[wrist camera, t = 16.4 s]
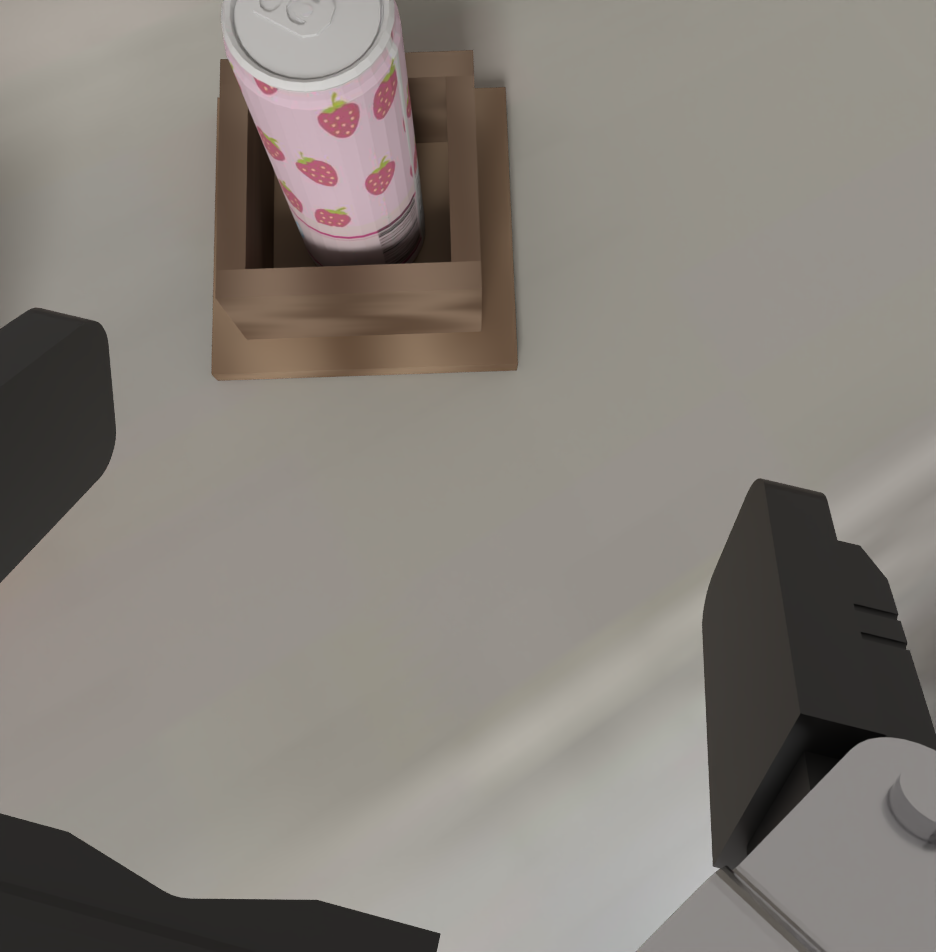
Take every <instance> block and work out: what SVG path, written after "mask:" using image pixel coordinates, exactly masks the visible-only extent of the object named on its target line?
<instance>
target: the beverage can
mask: <svg viewBox="0 0 936 952" xmlns="http://www.w3.org/2000/svg"><path fill="white" fill-rule="evenodd" d="M221 25H222V30H223V36H224V37H223V39H224V45H225V50H226V55H227V58H228V60H229V62H230V65H231V67H232V70H233V72H234V74H235V77H236V79H237V82H238V84H239V87H240V89H241V91H242V94H243V96H244V99H245V101H246V103H247V106H248V108H249V111H250V113H251V116H252V118H253V120H254V123H255V125H256V128H257V130H258V132H259V135H260V137H261V140H262V142H263V145H264V147H265V149H266V152H267V154H268V157H269V159H270V161H271V164H272V166H273V169H274V171H275V174H276V176H277V178H278V181H279V183H280V186H281V188H282V190H283V193H284V195H285V198H286V200H287V203H288V205H289V207H290V210H291V212H292V215H293V217H294V219H295V222H296V224H297V227H298V229H299V232H300V234H301V236H302V239H303V241H304V244H305V246H306V248H307V250H308V253H309V255H310V257H311V258H312V260H313V261H314V262H315V264H316V265H317V266H318V267H323V266H352V265H380V264H409V263H412V262H413V261H414V259H415V258H416V257H417V255H418V253H419V251H420V249H421V247H422V244H423V240H424V236H425V217H424V209H423V200H422V192H421V184H420V176H419V167H418V159H417V151H416V143H415V134H414V126H413V118H412V110H411V101H410V93H409V85H408V77H407V68H406V60H405V52H404V44H403V35H402V27H401V20H400V15H399V11H398V7H397V4H396V2H395V0H223V3H222V11H221Z"/></svg>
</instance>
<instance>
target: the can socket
mask: <svg viewBox="0 0 936 952" xmlns="http://www.w3.org/2000/svg"><path fill="white" fill-rule="evenodd" d="M405 60H406V68H407V77H408V85H409V93H410V101H411V110H412V118H413V126H414V134H415V143H416V151H417V159H418V167H419V176H420V184H421V192H422V200H423V209H424V217H425V236H424V240H423V244H422V247H421V249H420V251H419V253H418V255H417V257H416V258H415V259H414V261H413V262H412V263H409V264H380V265H352V266H323V267H318V266H317V265H316V264H315V262H314V261H313V260H312V258H311V257H310V255H309V253H308V250H307V248H306V246H305V244H304V241H303V239H302V236H301V234H300V232H299V229H298V227H297V224H296V222H295V219H294V217H293V215H292V212H291V210H290V207H289V205H288V203H287V200H286V198H285V195H284V193H283V190H282V188H281V186H280V183H279V181H278V178H277V176H276V174H275V171H274V169H273V166H272V164H271V161H270V159H269V157H268V154H267V152H266V149H265V147H264V145H263V142H262V140H261V137H260V135H259V132H258V130H257V128H256V125H255V123H254V120H253V118H252V116H251V113H250V111H249V108H248V106H247V103H246V101H245V99H244V96H243V94H242V91H241V89H240V87H239V84H238V82H237V79H236V77H235V74H234V72H233V70H232V67H231V65H230V62H229V60H228V59H220V98H218V101H217V146H216V192H215V237H214V283H213V328H212V375H213V376H214V377H215V378H216V379H217V380H218V381H220V380H249V379H278V378H307V377H336V376H365V375H394V374H423V373H452V372H481V371H510V370H517V365H518V359H517V337H516V315H515V292H514V270H513V247H512V225H511V203H510V180H509V158H508V136H507V113H506V91H505V87H499V88H474V65H473V50H466V51H439V52H411V53H405Z"/></svg>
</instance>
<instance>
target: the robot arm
mask: <svg viewBox="0 0 936 952" xmlns="http://www.w3.org/2000/svg"><path fill="white" fill-rule="evenodd" d="M115 439H116V424H115V413H114V402H113V391H112V379H111V368H110V357H109V346H108V339H107V335H106V332H105V330H104V328H103V327H102V325H101V324H100V323H98V322H96V321H93V320H89V319H84V318H80V317H76V316H72V315H67V314H63V313H59V312H54V311H50V310H46V309H42V308H33V309H30V310H28V311H26V312H25V313H23V314H22V315H20V316H19V317H17V318H16V319H14V320H13V321H11V322H10V323H8V324H7V325H5V326H4V327H3V328H1V329H0V583H1V582H2V581H3V579H4V578H5V577H6V576H7V575H8V574H9V573H10V572H11V571H12V570H13V569H14V568H15V567H16V566H17V565H18V564H19V563H20V562H21V560H22V559H23V558H24V557H25V556H26V555H27V554H28V553H29V552H30V551H31V550H32V549H33V548H34V547H35V546H36V545H37V544H38V543H39V541H40V540H41V539H42V538H43V537H44V536H45V535H46V534H47V533H48V532H49V531H50V530H51V529H52V528H53V527H54V526H55V525H56V524H57V522H58V521H59V520H60V519H61V518H62V517H63V516H64V515H65V514H66V513H67V512H68V511H69V510H70V509H71V508H72V507H73V506H74V505H75V503H76V502H77V501H78V500H79V499H80V498H81V497H82V496H83V495H84V494H85V493H86V492H87V491H88V490H89V489H90V488H91V487H92V486H93V484H94V483H95V482H96V481H97V480H98V479H99V478H100V477H101V476H102V474H103V473H104V471H105V470H106V468H107V466H108V464H109V462H110V459H111V456H112V453H113V450H114V445H115ZM897 616H898V611H897V608H896V605H895V602H894V599H893V595H892V592H891V589H890V586H889V583H888V580H887V578H886V577H885V576H884V575H883V573H882V572H881V571H880V570H879V569H878V567H877V566H876V565H875V564H874V562H873V561H872V560H871V559H870V557H869V556H868V555H867V554H866V552H865V551H864V550H863V549H862V548H861V546H859V545H855V544H850V543H846V542H842V541H838V540H837V537H836V533H835V529H834V525H833V522H832V518H831V514H830V510H829V506H828V502H827V499H826V496H825V495H824V494H823V493H820V492H816V491H812V490H808V489H803V488H799V487H795V486H791V485H786V484H782V483H778V482H773V481H769V480H765V479H761V478H760V479H757V480H756V481H755V482H754V483H753V484H752V486H751V487H750V489H749V491H748V493H747V495H746V497H745V500H744V502H743V505H742V507H741V509H740V512H739V514H738V516H737V519H736V521H735V523H734V526H733V528H732V530H731V533H730V535H729V538H728V540H727V542H726V545H725V547H724V549H723V552H722V554H721V556H720V559H719V561H718V563H717V566H716V568H715V570H714V573H713V575H712V578H711V581H710V584H709V587H708V591H707V595H706V599H705V604H704V611H703V621H702V633H703V655H704V677H705V700H706V722H707V744H708V766H709V789H710V811H711V833H712V856H713V867H717V868H720V869H719V870H718V871H716V872H715V873H714V874H713V875H712V876H711V877H710V878H708V879H707V880H706V881H705V882H704V883H703V884H702V885H701V886H700V887H699V888H698V889H697V890H696V891H695V892H694V893H693V894H692V895H691V896H690V897H689V898H688V899H687V900H686V901H685V902H684V903H683V904H682V905H681V906H680V907H679V908H678V909H677V910H676V911H675V912H674V913H673V914H672V915H671V916H670V917H669V918H668V919H667V920H666V921H665V922H664V924H663V925H662V926H661V927H660V928H659V929H658V930H657V931H656V932H655V933H654V934H653V935H652V936H651V937H650V938H649V939H648V940H647V941H646V942H645V943H644V944H643V945H642V946H641V947H640V948H639V949H638V950H637V951H636V952H936V733H935V730H934V727H933V724H932V721H931V717H930V714H929V711H928V708H927V705H926V701H925V698H924V695H923V692H922V688H921V685H920V682H919V679H918V676H917V672H916V669H915V666H914V663H913V660H912V656H911V653H910V650H906V645H907V640H906V637H905V634H904V631H903V628H902V624H901V621H898V620H897ZM439 938H440V933H436V932H432V931H429V930H425V929H422V928H418V927H414V926H411V925H407V924H403V923H400V922H396V921H392V920H389V919H385V918H381V917H378V916H374V915H370V914H367V913H363V912H359V911H356V910H352V909H348V908H345V907H341V906H337V905H334V904H330V903H326V902H323V901H319V900H268V899H188V898H180V897H176V896H173V895H170V894H168V893H166V892H164V891H163V890H161V889H159V888H158V887H156V886H155V885H153V884H151V883H150V882H148V881H147V880H145V879H143V878H142V877H140V876H138V875H137V874H135V873H134V872H132V871H130V870H129V869H127V868H126V867H124V866H122V865H121V864H119V863H118V862H116V861H114V860H113V859H111V858H109V857H108V856H106V855H105V854H103V853H101V852H100V851H98V850H97V849H95V848H93V847H92V846H90V845H88V844H87V843H85V842H84V841H82V840H80V839H79V838H77V837H76V836H74V835H72V834H71V833H69V832H66V831H63V830H59V829H55V828H52V827H48V826H44V825H41V824H37V823H33V822H30V821H26V820H22V819H19V818H15V817H11V816H8V815H4V814H0V952H437V948H438V943H439Z"/></svg>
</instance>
